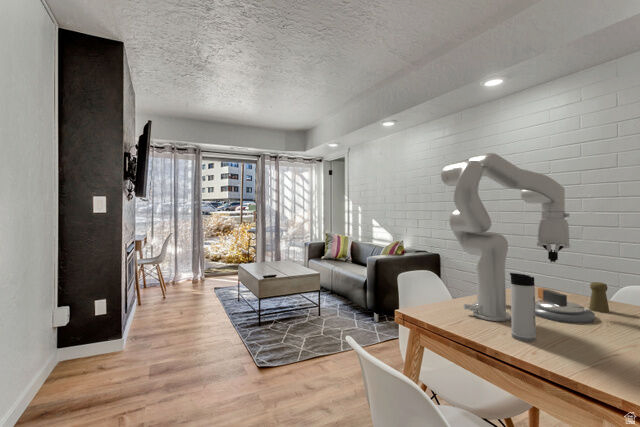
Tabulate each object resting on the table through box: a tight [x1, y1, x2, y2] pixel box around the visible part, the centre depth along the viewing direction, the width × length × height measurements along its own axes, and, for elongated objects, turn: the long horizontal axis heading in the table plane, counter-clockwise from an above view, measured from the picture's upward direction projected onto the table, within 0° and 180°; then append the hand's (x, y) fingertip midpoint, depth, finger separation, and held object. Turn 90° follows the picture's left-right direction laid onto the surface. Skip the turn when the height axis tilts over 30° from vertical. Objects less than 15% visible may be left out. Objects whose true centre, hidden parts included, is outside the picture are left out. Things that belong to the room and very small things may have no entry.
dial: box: [536, 287, 585, 314], centre depth 120 cm, size 17×14×6 cm
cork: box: [589, 281, 610, 314], centre depth 124 cm, size 6×6×11 cm
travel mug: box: [509, 272, 537, 343], centre depth 97 cm, size 6×7×20 cm
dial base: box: [535, 301, 596, 324], centre depth 119 cm, size 20×20×3 cm
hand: (553, 261), depth 126 cm, fingers closed
